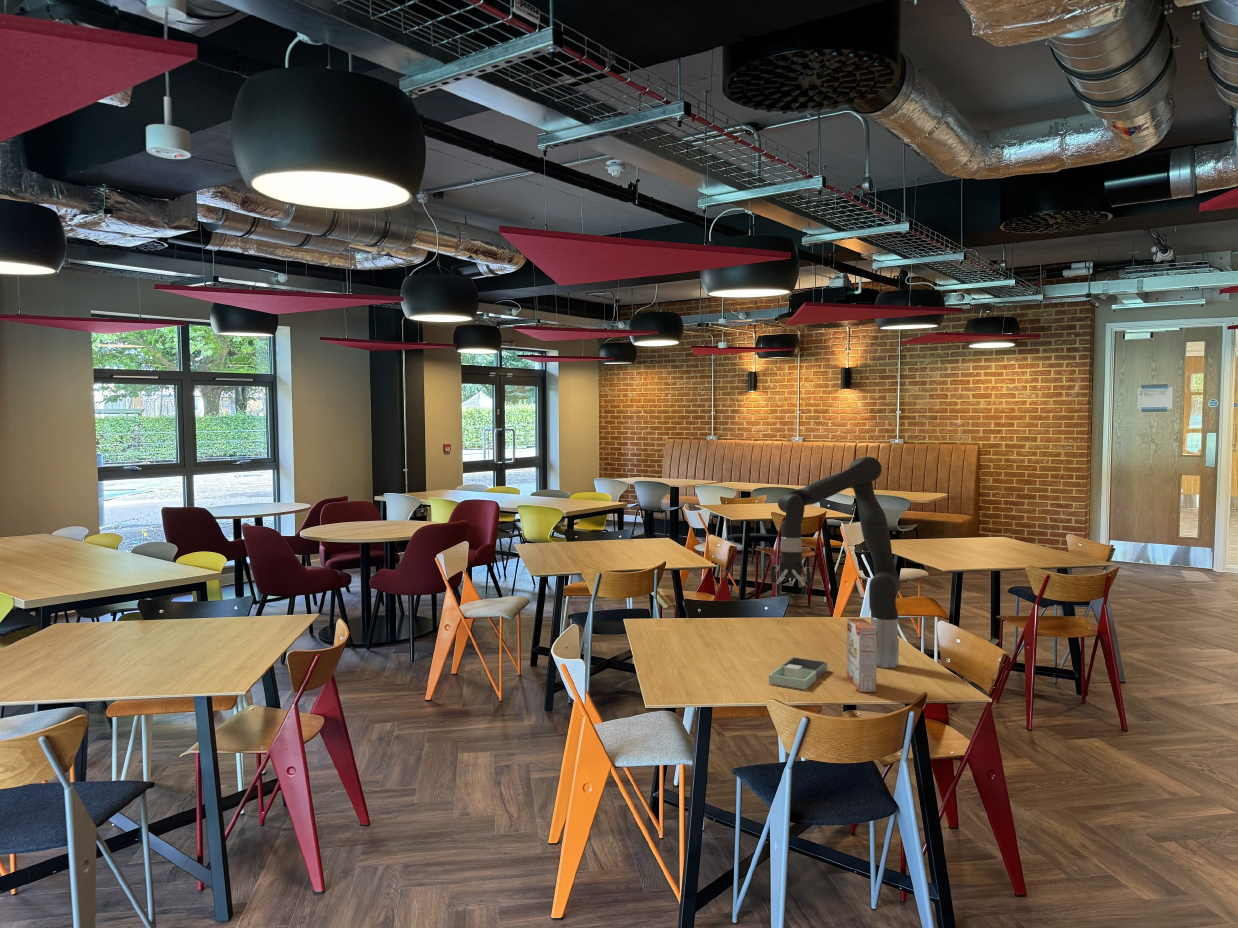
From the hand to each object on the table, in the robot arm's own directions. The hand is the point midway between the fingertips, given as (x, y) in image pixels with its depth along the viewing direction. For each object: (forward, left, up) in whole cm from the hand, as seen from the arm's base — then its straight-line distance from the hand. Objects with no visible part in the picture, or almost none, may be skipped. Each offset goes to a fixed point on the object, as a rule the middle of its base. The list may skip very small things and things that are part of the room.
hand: (791, 595), depth 279 cm
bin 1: (-7, +20, -25) cm, 33 cm away
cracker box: (-27, +11, -26) cm, 39 cm away
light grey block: (-7, +20, -25) cm, 32 cm away
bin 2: (-7, +7, -25) cm, 27 cm away
